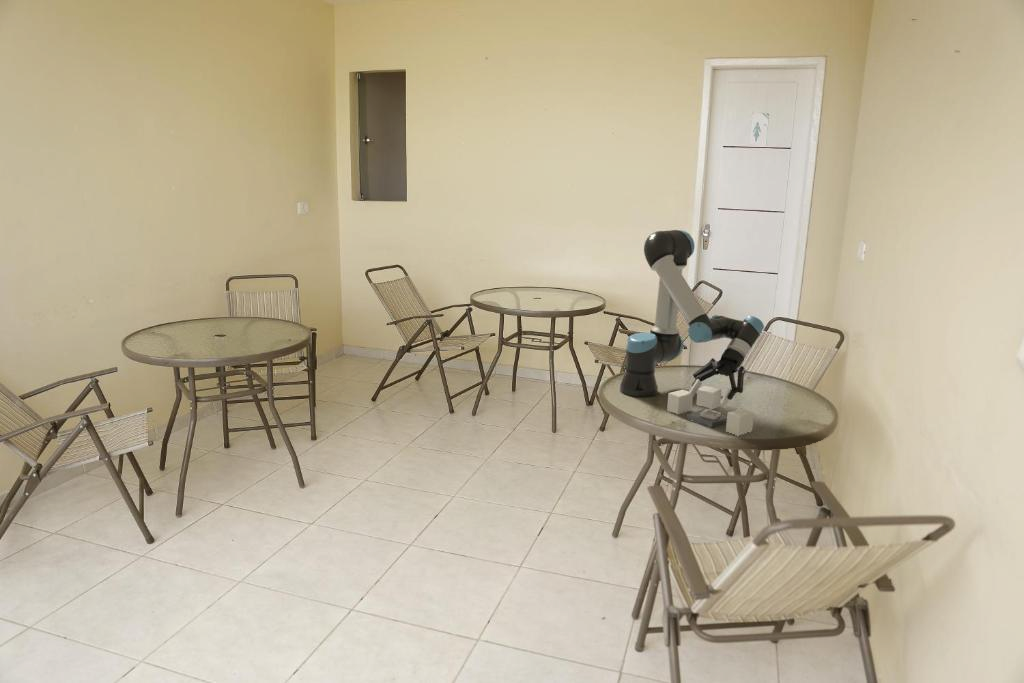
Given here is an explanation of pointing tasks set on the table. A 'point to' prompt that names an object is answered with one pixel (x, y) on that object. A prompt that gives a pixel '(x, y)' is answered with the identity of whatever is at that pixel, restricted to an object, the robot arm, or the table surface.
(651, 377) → the robot arm
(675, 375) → the table surface
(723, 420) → the mount plate
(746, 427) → the mounted modules
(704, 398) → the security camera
